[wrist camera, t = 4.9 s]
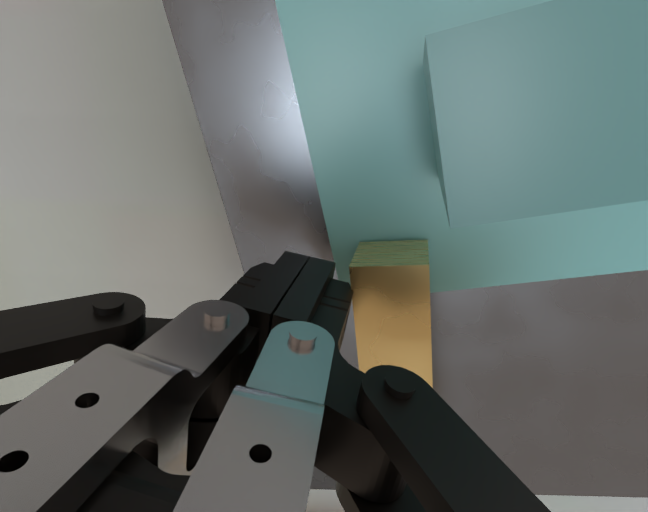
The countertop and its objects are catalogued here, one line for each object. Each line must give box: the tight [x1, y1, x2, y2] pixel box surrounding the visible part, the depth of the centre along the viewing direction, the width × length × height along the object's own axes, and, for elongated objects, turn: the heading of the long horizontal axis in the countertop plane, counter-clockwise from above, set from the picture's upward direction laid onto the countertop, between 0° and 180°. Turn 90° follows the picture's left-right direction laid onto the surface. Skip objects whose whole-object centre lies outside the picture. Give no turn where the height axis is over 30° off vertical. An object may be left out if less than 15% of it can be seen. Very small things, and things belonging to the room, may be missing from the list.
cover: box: [275, 0, 648, 293], centre depth 9 cm, size 10×10×6 cm
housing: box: [162, 0, 648, 497], centre depth 14 cm, size 22×16×2 cm
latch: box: [349, 240, 433, 388], centre depth 13 cm, size 10×2×4 cm, turn 6°
